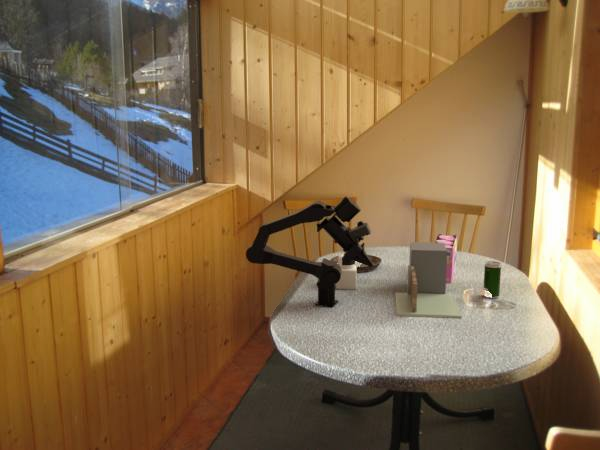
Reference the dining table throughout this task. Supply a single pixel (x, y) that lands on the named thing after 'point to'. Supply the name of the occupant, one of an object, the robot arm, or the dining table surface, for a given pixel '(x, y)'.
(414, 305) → the brown wooden flat panel
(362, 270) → the plant saucer
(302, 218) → the robot arm
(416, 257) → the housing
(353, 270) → the medicine bottle
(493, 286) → the beer can
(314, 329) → the dining table surface
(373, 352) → the dining table surface
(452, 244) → the gum box
